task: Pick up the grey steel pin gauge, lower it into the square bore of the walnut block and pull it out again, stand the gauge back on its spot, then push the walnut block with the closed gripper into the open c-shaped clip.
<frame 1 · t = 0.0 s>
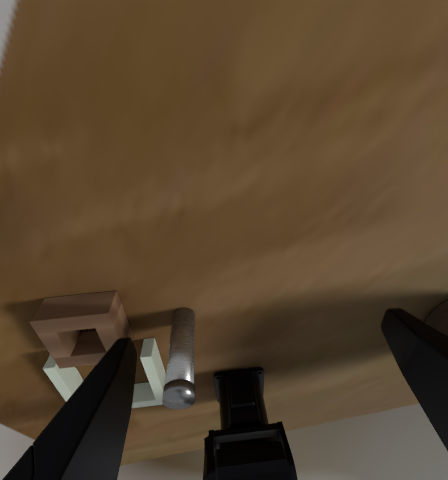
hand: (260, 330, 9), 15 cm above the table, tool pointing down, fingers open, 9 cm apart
open c-shaped clip: (114, 364, 33), on the table
walnut block: (92, 318, 28), on the table
steel pin gauge: (183, 315, 29), on the table
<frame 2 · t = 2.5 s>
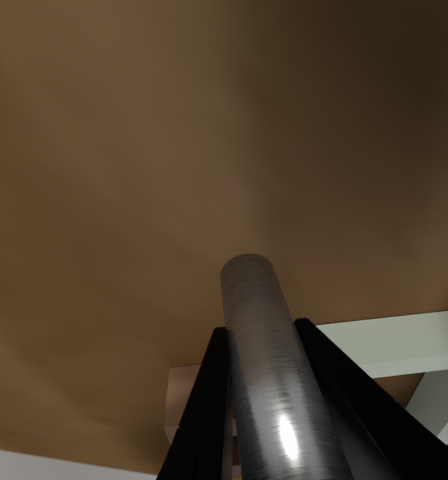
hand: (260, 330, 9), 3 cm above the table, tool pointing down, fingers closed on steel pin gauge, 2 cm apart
open c-shaped clip: (358, 380, 17), on the table
walnut block: (234, 394, 17), on the table
steel pin gauge: (247, 275, 12), on the table, touching gripper
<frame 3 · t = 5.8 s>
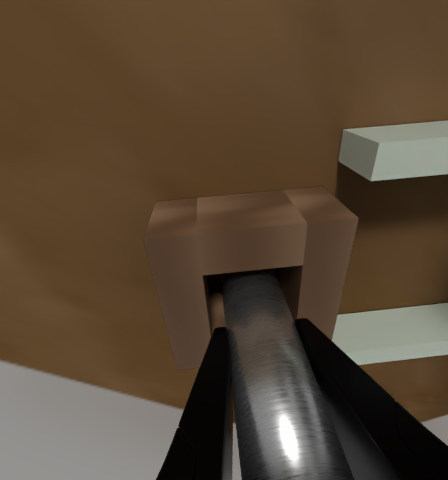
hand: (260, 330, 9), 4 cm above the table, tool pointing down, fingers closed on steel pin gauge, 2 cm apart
open c-shaped clip: (403, 245, 13), on the table
walnut block: (242, 261, 13), on the table
steel pin gauge: (247, 276, 12), point 1 cm above the table, touching gripper
when the fingers open (4 cm above the table, at t = 9.5 s): steel pin gauge stays where it is, on the table.
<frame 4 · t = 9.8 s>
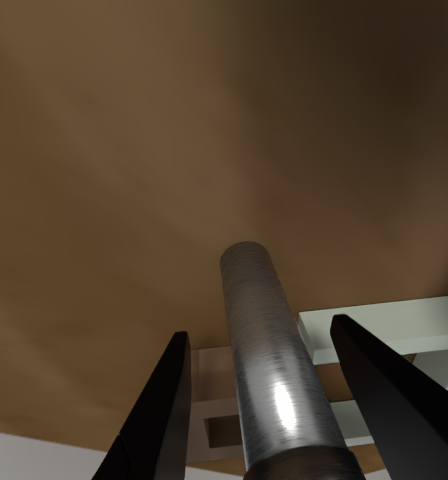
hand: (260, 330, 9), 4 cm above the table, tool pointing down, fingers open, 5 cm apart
open c-shaped clip: (350, 365, 18), on the table
walnut block: (232, 379, 18), on the table
steel pin gauge: (245, 262, 13), on the table
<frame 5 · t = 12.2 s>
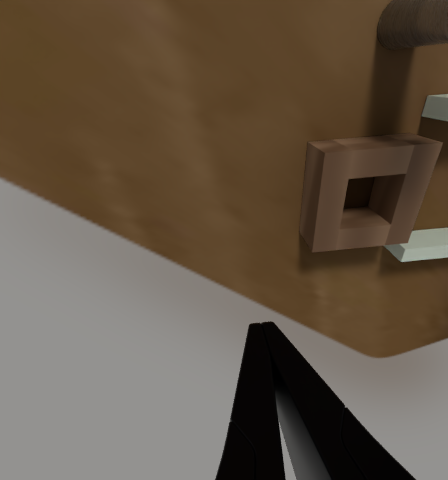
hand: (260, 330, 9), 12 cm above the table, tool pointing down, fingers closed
walnut block: (349, 186, 20), on the table
steel pin gauge: (399, 23, 15), on the table
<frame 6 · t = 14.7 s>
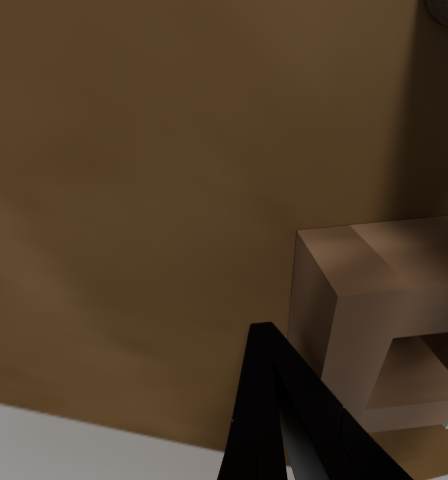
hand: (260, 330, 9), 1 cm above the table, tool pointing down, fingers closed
walnut block: (379, 299, 10), on the table, touching gripper
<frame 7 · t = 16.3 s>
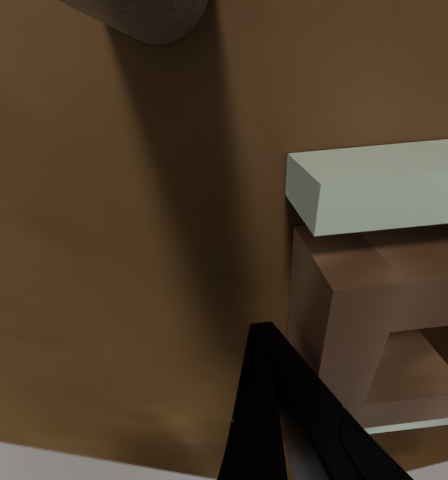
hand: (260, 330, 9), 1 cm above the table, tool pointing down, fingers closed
open c-shaped clip: (381, 293, 10), on the table
walnut block: (378, 294, 10), on the table, touching gripper
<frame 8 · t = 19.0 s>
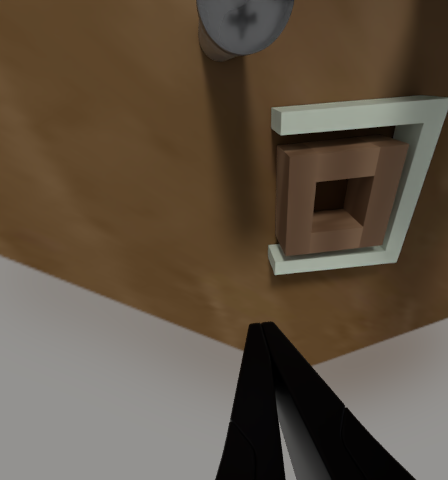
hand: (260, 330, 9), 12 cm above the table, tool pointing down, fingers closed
open c-shaped clip: (323, 188, 20), on the table
walnut block: (322, 189, 20), on the table
steel pin gauge: (220, 35, 15), on the table
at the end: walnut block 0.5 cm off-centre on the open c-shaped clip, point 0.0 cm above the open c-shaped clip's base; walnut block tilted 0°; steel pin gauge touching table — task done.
